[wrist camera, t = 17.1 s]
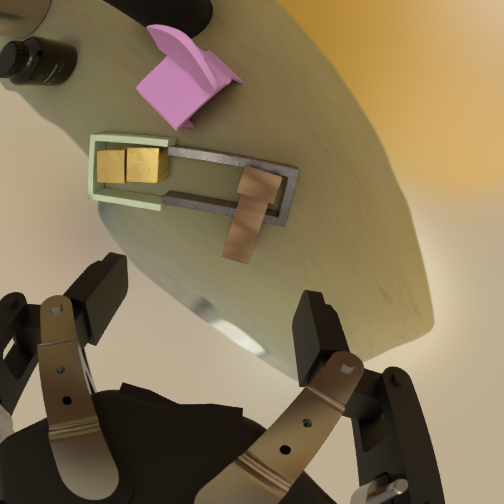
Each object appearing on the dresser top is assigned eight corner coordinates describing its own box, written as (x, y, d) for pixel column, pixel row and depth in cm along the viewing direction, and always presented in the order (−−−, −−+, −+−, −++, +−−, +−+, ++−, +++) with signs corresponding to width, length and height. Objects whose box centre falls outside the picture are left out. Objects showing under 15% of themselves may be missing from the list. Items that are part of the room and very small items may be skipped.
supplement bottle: (71, 86, 26) (12, 85, 15) (42, 86, 25) (-14, 88, 15) (84, 42, 23) (28, 29, 12) (53, 45, 22) (-1, 38, 12)
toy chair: (151, 93, 28) (81, 82, 14) (203, 44, 25) (163, -4, 11) (195, 137, 30) (145, 150, 17) (250, 88, 27) (241, 60, 14)
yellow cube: (112, 175, 32) (97, 182, 29) (112, 146, 31) (96, 150, 27) (137, 176, 33) (124, 183, 29) (138, 146, 31) (124, 150, 27)
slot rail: (168, 197, 34) (162, 203, 31) (175, 144, 31) (168, 146, 28) (283, 219, 35) (284, 227, 32) (296, 167, 32) (299, 170, 29)
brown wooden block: (245, 169, 31) (220, 249, 33) (245, 165, 27) (216, 256, 29) (277, 180, 32) (251, 259, 33) (282, 177, 28) (252, 267, 29)
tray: (99, 192, 33) (88, 198, 31) (102, 132, 30) (90, 134, 27) (168, 203, 34) (160, 211, 31) (176, 138, 30) (168, 140, 28)
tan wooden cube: (140, 174, 32) (126, 181, 29) (141, 144, 31) (127, 147, 27) (168, 176, 33) (157, 183, 29) (170, 145, 31) (158, 148, 27)
